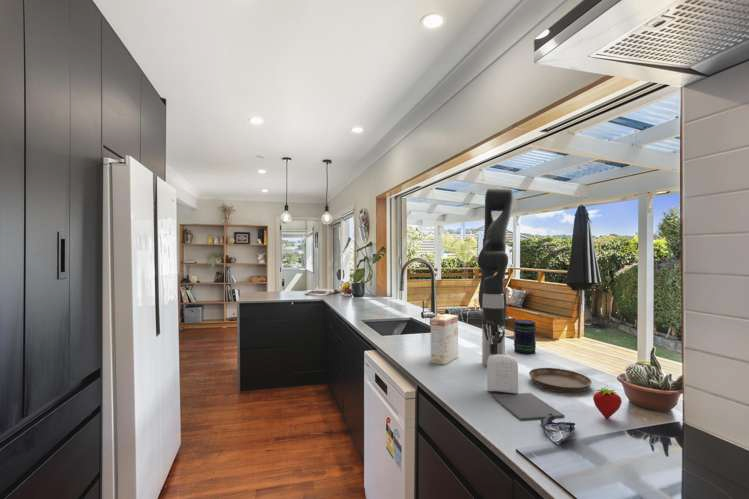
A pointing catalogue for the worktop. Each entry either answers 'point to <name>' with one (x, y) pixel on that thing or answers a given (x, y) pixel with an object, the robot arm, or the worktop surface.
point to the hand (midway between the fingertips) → (493, 354)
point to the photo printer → (502, 373)
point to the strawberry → (607, 402)
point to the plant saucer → (560, 380)
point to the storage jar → (524, 337)
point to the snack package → (557, 427)
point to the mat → (526, 406)
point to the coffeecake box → (444, 338)
